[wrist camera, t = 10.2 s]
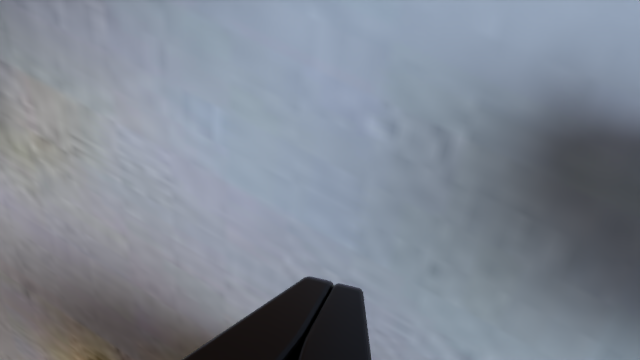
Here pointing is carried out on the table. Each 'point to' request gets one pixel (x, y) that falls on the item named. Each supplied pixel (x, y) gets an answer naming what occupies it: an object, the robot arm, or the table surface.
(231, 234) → the table surface
